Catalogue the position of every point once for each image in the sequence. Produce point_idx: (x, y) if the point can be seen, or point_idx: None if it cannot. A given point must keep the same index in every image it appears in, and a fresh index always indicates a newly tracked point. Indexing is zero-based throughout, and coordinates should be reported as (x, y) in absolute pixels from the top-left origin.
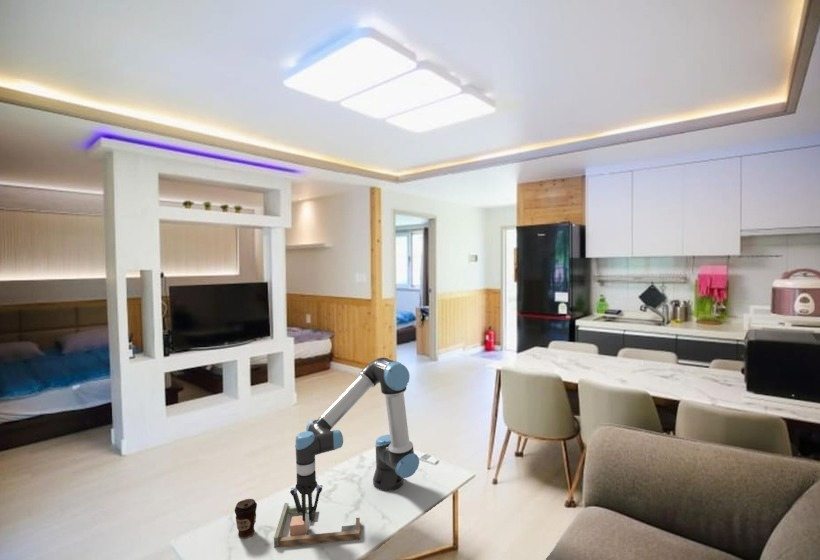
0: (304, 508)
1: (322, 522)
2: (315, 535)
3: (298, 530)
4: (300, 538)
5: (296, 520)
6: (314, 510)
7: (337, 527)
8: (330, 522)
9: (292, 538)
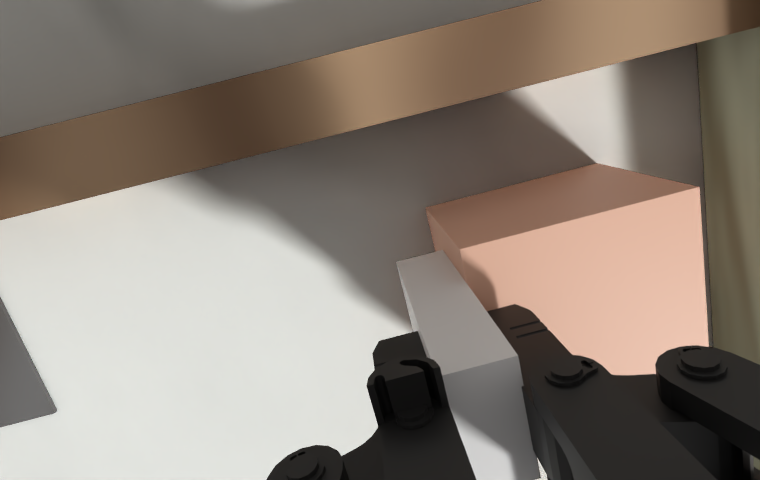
0: (597, 452)
1: (314, 442)
2: (244, 126)
3: (530, 202)
4: (445, 35)
5: (625, 321)
6: (305, 461)
7: (102, 390)
8: (223, 454)
9: (564, 25)
